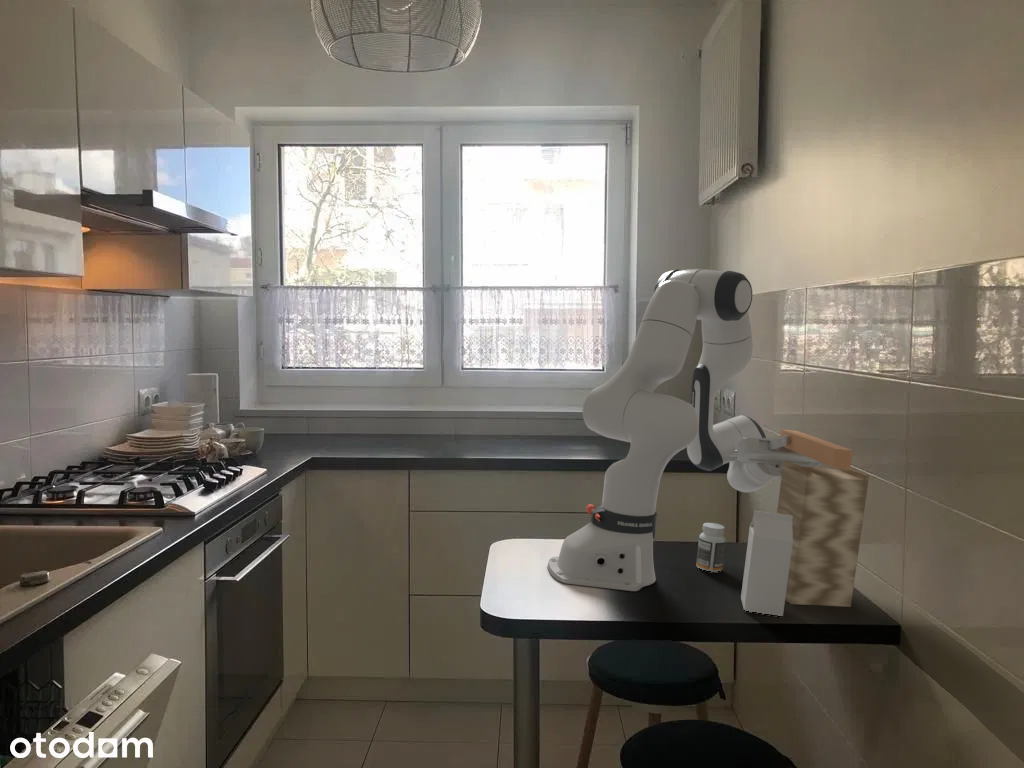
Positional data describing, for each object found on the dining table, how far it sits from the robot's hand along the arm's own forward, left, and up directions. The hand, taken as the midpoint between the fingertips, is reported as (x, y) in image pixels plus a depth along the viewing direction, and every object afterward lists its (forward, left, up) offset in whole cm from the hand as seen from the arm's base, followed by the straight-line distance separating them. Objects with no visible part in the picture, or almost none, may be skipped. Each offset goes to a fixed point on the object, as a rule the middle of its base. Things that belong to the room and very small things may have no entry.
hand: (798, 439), depth 164 cm
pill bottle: (-14, +6, -31) cm, 35 cm away
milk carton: (-12, -16, -31) cm, 37 cm away
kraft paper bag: (+2, -8, -31) cm, 32 cm away
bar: (0, -6, -2) cm, 7 cm away
